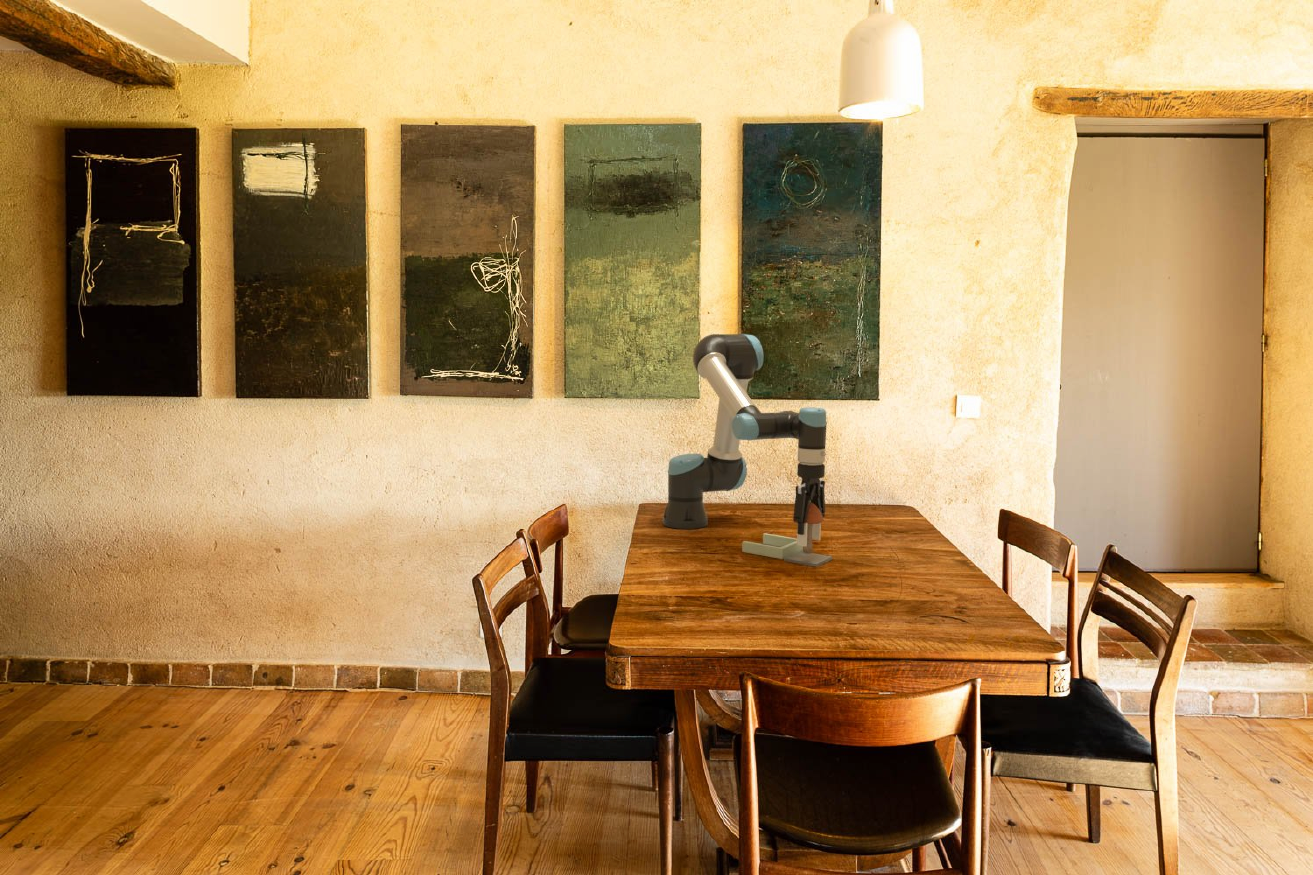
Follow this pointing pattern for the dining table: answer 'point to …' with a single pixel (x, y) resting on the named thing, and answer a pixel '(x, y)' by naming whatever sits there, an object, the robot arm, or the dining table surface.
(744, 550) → the cream u-shaped piece
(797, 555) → the coaster
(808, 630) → the dining table surface
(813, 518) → the mushroom
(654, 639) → the dining table surface
